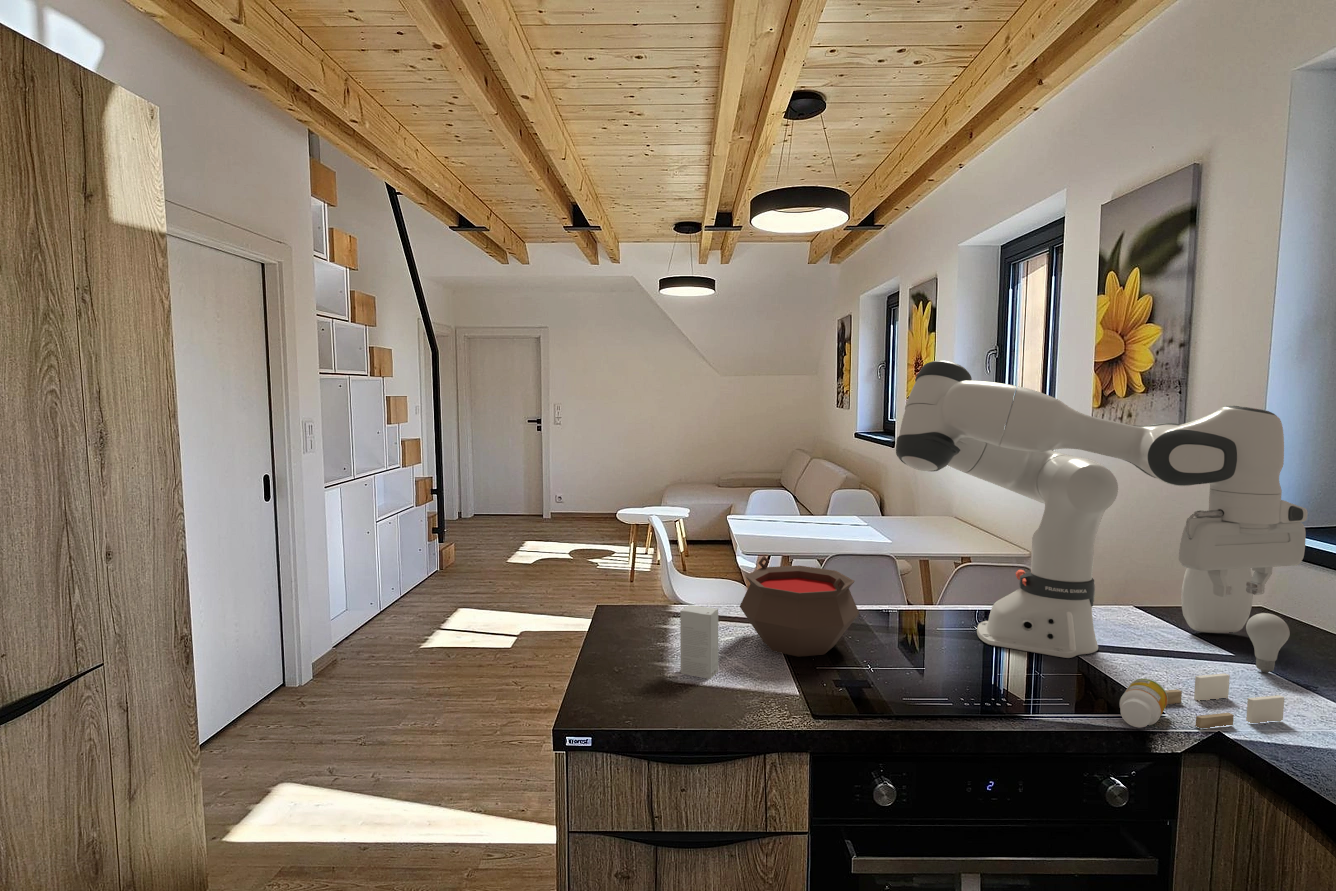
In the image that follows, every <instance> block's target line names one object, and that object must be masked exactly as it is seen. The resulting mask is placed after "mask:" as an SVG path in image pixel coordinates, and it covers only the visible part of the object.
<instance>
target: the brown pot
mask: <svg viewBox="0 0 1336 891" xmlns="http://www.w3.org/2000/svg"><path fill="white" fill-rule="evenodd" d="M769 563H770V560H769V559H768V558H767V557H766V555H763V556H762V557H761V558H760V560H759V562H758V565H759V566H760V568H758V569H756V570H754V571H752V572H750V573H748V574H746V575H744V576H745V578H746V579H747V581H748V582H749V586H748V588H747V590H746V592H745V594H744V597H743V598H742V601H741V603H740V605H739V608H740V609H741V610H742V611H741V612H742V613H744V615H745V617H746V618H747V620H748V621H749V623H750V624H751V626H752V627H753V629H754V630H755V633H756V634H757V635H758V637H759V638H760V640H761V641H762V643H764V644H765V645H766V647H767V648H769V650H770V651H771V652H775V653H780V654H784V655H788V656H789V655H790V656H793V657H798V658H799V657H809V656H811V657H812V656H824V655H826V653H828V652H829V651H830V650H832V648H834V647H835V645H837V643H838V642H839V640H841V638H842V636H843V635H844V634H845V632H846V631H847V630H849V628H850V626H851V625H852V624H853V622H854V621H855V620H856V618H857V617H858V616H859V615H860V612H859V609H858V607H857V605H856V604H857V603H856V602H855V600H854V597H853V595H852V593H851V590H850V588H851V586H852V585H853V584H854V583H855V582H856V581H855V580H854V579H852V578H851V577H848V576H847V575H845V574H843V573H841V572H839V571H837V570H835V569H833V570H832V569H827V568H819V567H812V566H811V567H810V566H804V565H783V566H768V565H769Z"/></svg>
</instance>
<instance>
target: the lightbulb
mask: <svg viewBox="0 0 1336 891" xmlns="http://www.w3.org/2000/svg"><path fill="white" fill-rule="evenodd" d="M1245 630H1246V633H1247V635H1248V637H1249V640H1250V641H1251V643H1252V645H1253V648H1254V656H1255V667H1256V668H1257V669H1258V670H1260V671H1261V672H1262V673H1266V674H1268V673H1270V672H1273V671H1274V670H1275V665H1276V661H1277V660H1278V655H1279V651H1281V649H1282V647H1283V646H1284V645H1285V644H1286V643H1287V641H1288V640H1289V638H1290V633H1291V632H1290V628H1289V625H1288V623H1287V622H1285V620H1284V619H1282V618H1281V617H1280V616H1277V615H1275V614H1273V613H1268V612H1261V613H1256V614H1254V615H1252V616H1251V617H1249V618H1248V620H1247V622H1246V623H1245Z"/></svg>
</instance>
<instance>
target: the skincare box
mask: <svg viewBox="0 0 1336 891" xmlns="http://www.w3.org/2000/svg"><path fill="white" fill-rule="evenodd" d="M679 614H680V615H679V616H680V617H679V618H680V619H679V620H680V625H679V626H680V633H679V635H680V638H679V639H680V674H681V675H686V676H687V675H688V676H691V677H698V678H703V679H708V680H711V679H712V678H713V677H715V675H717V674H718V673H719V608H717V607H716V608H714V607H707V606H699V605H691V604H688V605H687V606H685V607H684V608H683V609H681V610H680V612H679Z"/></svg>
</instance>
